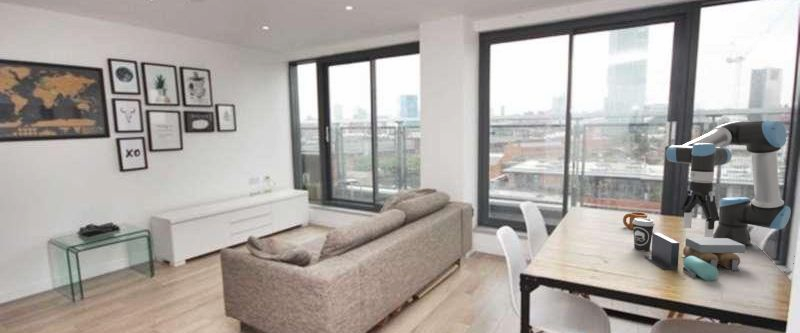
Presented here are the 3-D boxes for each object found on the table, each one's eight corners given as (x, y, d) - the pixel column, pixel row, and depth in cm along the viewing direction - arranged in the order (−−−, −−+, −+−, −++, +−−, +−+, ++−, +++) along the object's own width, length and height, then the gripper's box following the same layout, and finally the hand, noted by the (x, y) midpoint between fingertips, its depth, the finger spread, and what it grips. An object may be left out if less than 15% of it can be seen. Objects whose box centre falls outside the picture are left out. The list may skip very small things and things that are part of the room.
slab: (727, 245, 178) (728, 238, 178) (744, 253, 169) (745, 245, 168) (685, 245, 180) (685, 237, 180) (700, 252, 170) (700, 244, 170)
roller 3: (701, 257, 182) (702, 243, 181) (716, 257, 182) (717, 243, 181) (723, 269, 168) (725, 254, 167) (740, 269, 167) (742, 254, 167)
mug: (625, 225, 240) (625, 210, 239) (647, 228, 232) (648, 213, 231) (621, 227, 234) (622, 213, 233) (644, 231, 226) (645, 216, 225)
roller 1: (681, 257, 183) (682, 243, 182) (696, 257, 182) (698, 243, 182) (702, 269, 169) (703, 254, 168) (719, 269, 168) (720, 254, 167)
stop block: (657, 257, 184) (659, 232, 183) (677, 269, 169) (679, 242, 168) (644, 257, 185) (645, 232, 183) (663, 269, 170) (664, 242, 168)
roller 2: (682, 269, 169) (684, 255, 168) (697, 270, 169) (700, 256, 168) (700, 280, 158) (702, 265, 157) (717, 281, 157) (719, 266, 157)
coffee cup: (656, 252, 191) (658, 222, 189) (635, 251, 193) (636, 221, 191) (648, 246, 200) (650, 217, 198) (628, 245, 202) (629, 217, 200)
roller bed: (711, 257, 183) (712, 246, 183) (755, 278, 158) (756, 267, 158) (658, 256, 185) (659, 246, 184) (693, 278, 160) (694, 266, 160)
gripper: (673, 177, 173) (670, 224, 176) (712, 186, 149) (708, 241, 151) (691, 177, 173) (688, 224, 175) (733, 186, 148) (729, 241, 150)
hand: (697, 232), depth 163 cm, fingers open, 13 cm apart
